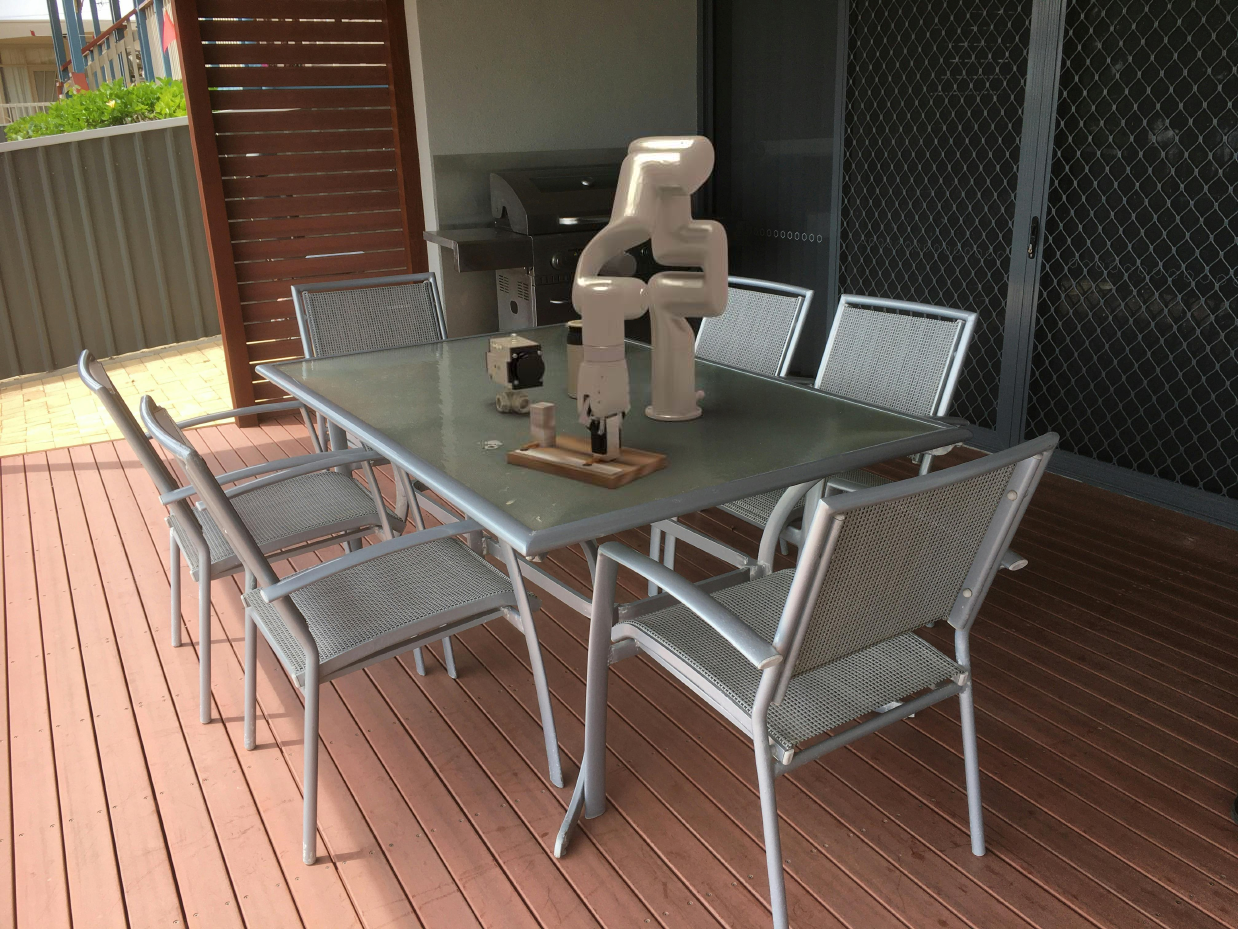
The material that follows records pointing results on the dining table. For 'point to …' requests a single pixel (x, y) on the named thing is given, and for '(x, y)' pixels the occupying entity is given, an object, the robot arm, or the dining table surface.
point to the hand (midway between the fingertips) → (606, 449)
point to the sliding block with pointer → (609, 439)
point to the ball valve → (515, 370)
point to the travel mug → (574, 355)
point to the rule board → (579, 455)
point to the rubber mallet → (619, 266)
